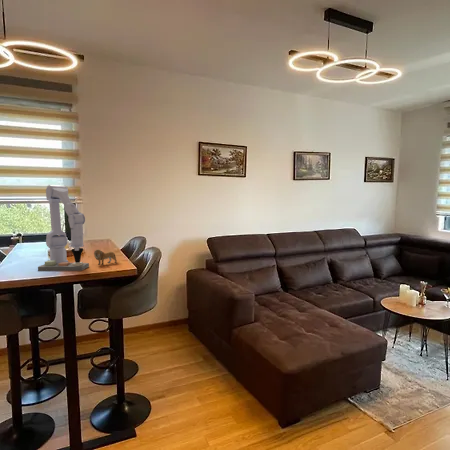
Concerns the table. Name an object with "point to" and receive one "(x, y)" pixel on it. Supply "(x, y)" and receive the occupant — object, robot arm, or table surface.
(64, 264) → the terracotta button
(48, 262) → the sage button
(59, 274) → the table surface
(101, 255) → the lion figurine
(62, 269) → the button panel
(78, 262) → the cream button
